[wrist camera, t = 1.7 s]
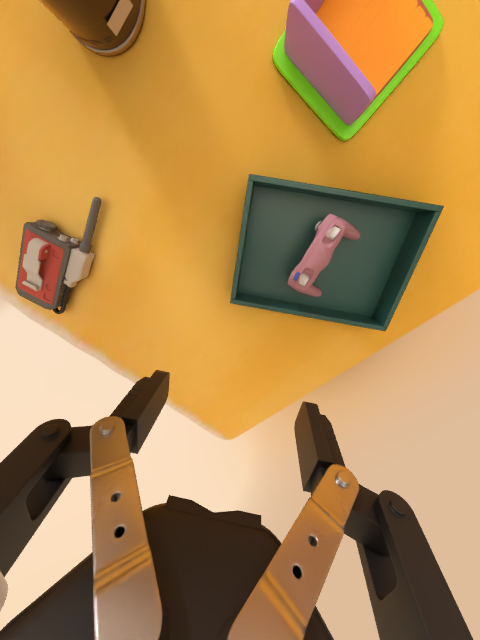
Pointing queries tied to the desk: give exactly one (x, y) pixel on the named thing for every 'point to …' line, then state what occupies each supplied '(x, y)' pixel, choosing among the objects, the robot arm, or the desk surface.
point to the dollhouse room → (352, 54)
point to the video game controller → (320, 253)
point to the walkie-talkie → (54, 261)
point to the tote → (348, 257)
